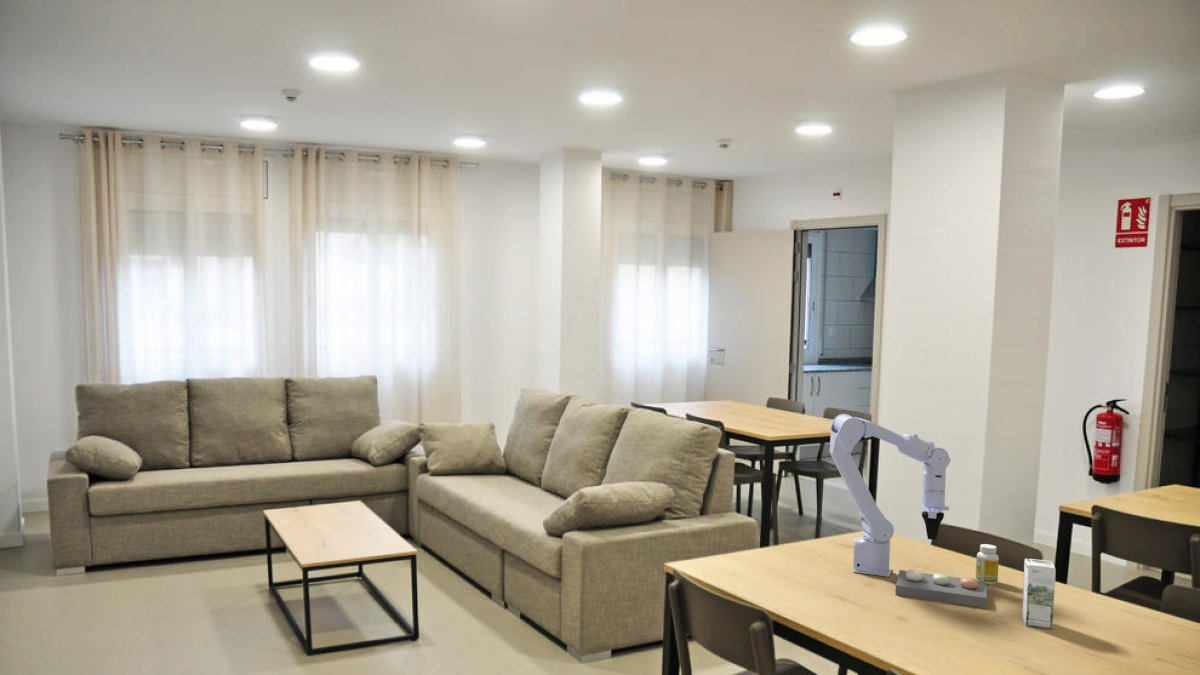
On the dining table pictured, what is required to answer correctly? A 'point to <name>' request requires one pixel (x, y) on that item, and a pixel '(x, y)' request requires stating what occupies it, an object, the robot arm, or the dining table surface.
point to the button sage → (941, 579)
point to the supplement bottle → (987, 564)
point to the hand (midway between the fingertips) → (931, 538)
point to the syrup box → (1038, 593)
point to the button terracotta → (969, 583)
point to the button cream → (914, 575)
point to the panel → (942, 590)
